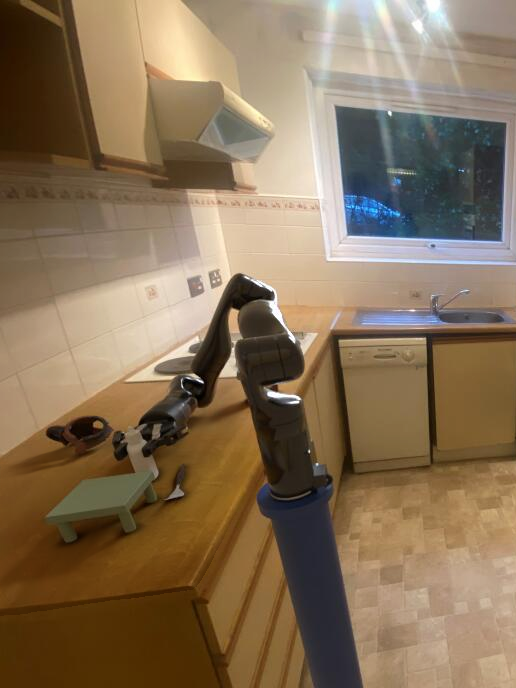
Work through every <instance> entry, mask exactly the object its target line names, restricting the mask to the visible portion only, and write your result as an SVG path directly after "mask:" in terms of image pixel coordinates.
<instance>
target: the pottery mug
mask: <svg viewBox="0 0 516 688" xmlns="http://www.w3.org/2000/svg"><path fill="white" fill-rule="evenodd" d="M97 421H98V422H100V423H101V424H102V427H97V426H95V427H94V423H96V422H97ZM109 424H110V423H109V421H107V420H106V418H104V417H101V416H98V415H82V416H78V417H75V418H73V419H71V420H70V421H68V422H67V423H66V424H65V425H60V424H59V425H58V424H57V425H52V426H49V427H47V428H46V431H45V436H46V438H48V439H50V440H52V441H55V442H56V443H61V444H62V445H63V446H64V447H67V446H69V444H72V445H74V452H75V453H76V454H82V455H84V454H85V453H86V452H87V450H90V449H92V448H95V447H96V446H98V445H100V444H102V443H104V442H105V441H107V438H109V437H110V436H111V434H112V432H115V429H114V428H113V427H112V426H111V425H109Z"/></svg>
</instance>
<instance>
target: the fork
mask: <svg viewBox="0 0 516 688" xmlns="http://www.w3.org/2000/svg"><path fill="white" fill-rule="evenodd" d="M184 477H185V463H182V464H181V466H180V468H179V471H178V473H177V475H176V487H175V489H174V491H172V493H171V494H169V496H168V497H167V498H164V499H163V501H168V500H172V499H176V498H180V497H183V496H184V495H185V492H184V491H182V489H180V485H181V484H182V482H183V480H184Z"/></svg>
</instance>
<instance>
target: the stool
mask: <svg viewBox="0 0 516 688" xmlns="http://www.w3.org/2000/svg"><path fill="white" fill-rule="evenodd" d="M154 478H155V476H154V473H153V471H147V472H139V473H135V472H132V473H126V474H125V473H124V474H117V475H109V476H102V477H95V478H88V479H87V478H86V479H83V480H82V481H81V482H80V483H79V484H78V485H77V486H75V487H74V488H73V489H72V490H71V491H70V492H69V493H68V494H67V495H66V496H65V497H64V498H63V499H62V500H61V501H60V502H59V503H57V505H56V506H54V507H53V508H52V509H51V510H50V511H49V513H48V514H46V515H45V516H44V519H45V521H46V523H47V525H48V526H49V525H50V526H52V525H56V526H57V528H58V531H59V532H60V535H61V537H62V539H63V541H64V542H65V543H66V544H67V543H68V544H69V543H72V542H74V541H76V540H77V539H78V538H79V537H78V535H77V533H76V531H75V528H74V526H73V524H72V522H77V521H83V520H89V519H96V518H102V517H109V516H118V519H119V521H120V523H121V526H122V528H123V531H124V533H125V534H129V533H132V532H134V531H136V530H137V525H136V522H135V520H134V518H133V515H132V512H131V509H132V507H134V505H135V503H136V502H137V501H138V500H139V498H140V497H141V496H142V495H143V496H144V498H145V500H146V503H147V504H152V503H156V501H158V497H157V494H156V491H155V488H154V486H153V483H152V482H153V481H154V480H153V479H154Z"/></svg>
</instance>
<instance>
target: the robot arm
mask: <svg viewBox="0 0 516 688" xmlns="http://www.w3.org/2000/svg"><path fill="white" fill-rule="evenodd" d="M232 310H235V311H237V312H238V313H237V316H236V320H237V321H236V322H237V327H238V331H239V334H240V336H241V337H242V338H241V339H237V341H236V342H235V344H234V358H235V363H236V367H237V370H239V373H240V376H241V379H242V382H243V385H244V388H245V392H246V395H247V397H246V399H247V398H248V400H247V403H248V402H249V403H248V407H249V410H250V416H251V420H252V425H253V429H254V433H255V436H256V441H257V445H258V449H259V453H260V456H261V460H262V464H263V468H264V470H263V475H264V477H266V480H267V481H266V482H267V483H268V485H269V490H270V495H271V497H272V499H274V500H276V501H279V502H292V501H297V500H300V499H303V498H305V497H307V496H309V495H311V494H315V493H318V488H319V487H325V488H326V487H327V486H329V485H330V484H331V483H332V482H333V483H334V477H333V475H331V474H329V472H328V467H327V464H319V462H318V458H317V453H316V447H315V442H314V439H311V435H310V430H309V423H308V419H307V414H306V408H305V403H304V400H303V399H302V397H300V396H298V395H297V394H293V393H286V392H280V391H279V392H275V391H271V390H269V389H266V388H265V386H270V385H276V384H278V385H281V384H287V383H291V382H294V381H297V380H299V379H300V378H301V377H302V376H303V375H304V373H305V369H306V360H305V356H304V353H303V350H302V347H301V345H300V343H299V341H298V340H297V338H296V337H295V334H293V333H292V332H291V330H290V329H289V327H288V324H287V321H286V318H285V317H284V314H283V312H282V311H281V309H280V306H279V301H278V294H277V292H276V290H275V289H274V288H273V287H272V286H270V285H269V284H266V283H264V282H262V281H260V280H258V279H256V278H253V277H252V276H249V275H247V274H245V273H242V272H238V273H235V274H233V275H232V277H230V279H229V280H228V282H227V284H226V285H225V287H224V290H223V291H222V294H221V296H220V299H219V301H218V303H217V306H216V307H215V311H214V313H213V315H212V318H211V321H210V323H209V325H208V329H207V331H206V333H205V336H204V338H203V340H202V341H201V344H200V346H199V347H198V349H197V351H196V353H195V354H194V356H193V358H192V360H191V362H190V364H189V370H190V371H191V372H192V373H193V374H194V375H195V376H197V377H198V378H197V377H195V376H192V375H191V374H186V373H181V374H177V375H175V376H174V377H173V378H172V379H171V380H170V382H169V384H168V386H167V389H166V394H165V396H164V397H162V399H161V400H159V401H157V402H156V403H154V405H153V406H152V407H151V408H150V409H148V410H147V411H146V412H145V413H144V414H143V415H142V416H141V417H140V419H139V421H138V424H137V426H135V427H133V428H134V430H139V431H140V433H141V436H142V438H143V440H145V441H147V443H146V444H145V445H144V446H143V447H142V449H141V450H142V453H143V456H144V458H146V457H150V456H151V455H152V456H153V454H155V453H156V452H157V450H160V449H162V448H163V446H166V447H171V446H173V445H174V444H177V443H178V442H179V441H181V440H183V438H185V437H187V436H188V435H189V434H190V432H189V428H188V425H187V422H188V421H189V419H190V417H191V416H192V415H193V414H194V412H196V409H205V408H207V407H209V406H210V405H212V403H213V402H214V400H215V397H216V395H217V394H216V393H217V387H218V382H219V379H220V376H221V374H222V372H223V370H224V369H225V367H226V365H227V363H228V362H229V360H230V358H231V356H232V353H233V343H232V337H231V331H230V325H229V322H230V321H229V319H230V315H231V312H232ZM245 392H244V393H245ZM246 395H245V396H246ZM127 432H128V431H126V432H124V431H122V430H120V429H119V430H116V431H113V435H112V438H111V444H112V446H113V449H114V450H113V451H112V454H113V457H114V459H115V460H116V461H117V462H121V461H124V460H125V459H126V457H128V456H129V455H128V452H127V445H128V443H127V440H126V437H125V433H127ZM327 480H328V481H327Z"/></svg>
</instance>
